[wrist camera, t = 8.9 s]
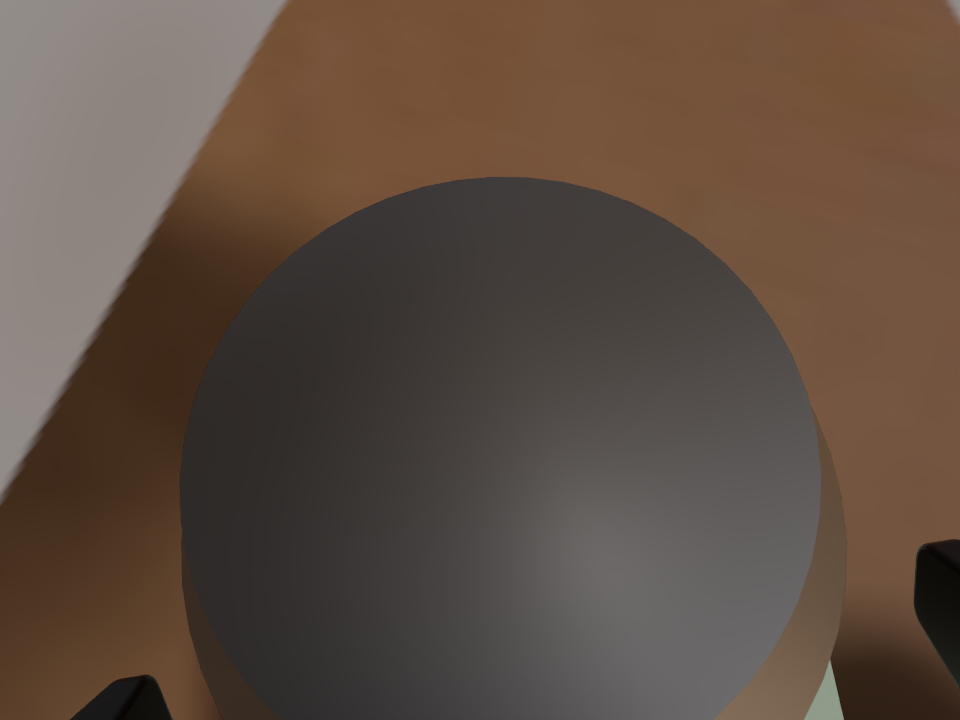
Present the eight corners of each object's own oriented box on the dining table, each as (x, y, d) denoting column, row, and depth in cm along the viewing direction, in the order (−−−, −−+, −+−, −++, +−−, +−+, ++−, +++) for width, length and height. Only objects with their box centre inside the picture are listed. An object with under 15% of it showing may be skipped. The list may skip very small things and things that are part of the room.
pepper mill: (680, 691, 17) (1176, 701, 4) (466, 787, 17) (164, 1188, 3) (582, 483, 19) (677, 9, 6) (390, 563, 19) (11, 252, 5)
